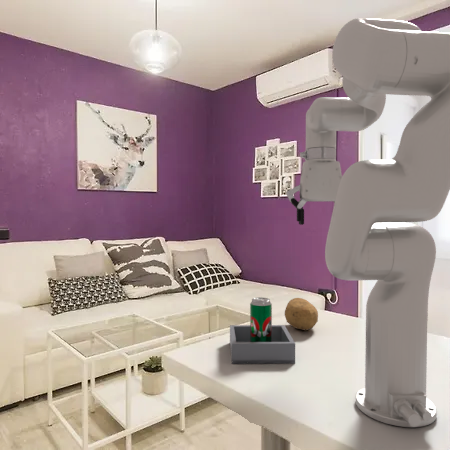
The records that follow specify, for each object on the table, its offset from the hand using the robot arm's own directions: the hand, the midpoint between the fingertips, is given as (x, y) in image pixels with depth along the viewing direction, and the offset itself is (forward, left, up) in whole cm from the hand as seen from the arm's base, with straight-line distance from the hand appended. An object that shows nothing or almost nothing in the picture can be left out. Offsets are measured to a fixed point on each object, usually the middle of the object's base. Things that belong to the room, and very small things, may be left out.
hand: (320, 224), depth 99 cm
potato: (+12, +2, -31) cm, 33 cm away
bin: (-7, +16, -30) cm, 35 cm away
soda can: (-7, +16, -30) cm, 34 cm away
